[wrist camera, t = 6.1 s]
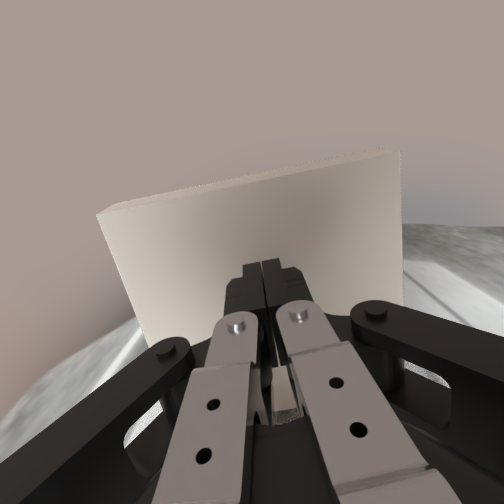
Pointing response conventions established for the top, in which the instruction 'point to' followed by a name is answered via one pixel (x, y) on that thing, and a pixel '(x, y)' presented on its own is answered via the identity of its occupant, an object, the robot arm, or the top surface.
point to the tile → (261, 243)
